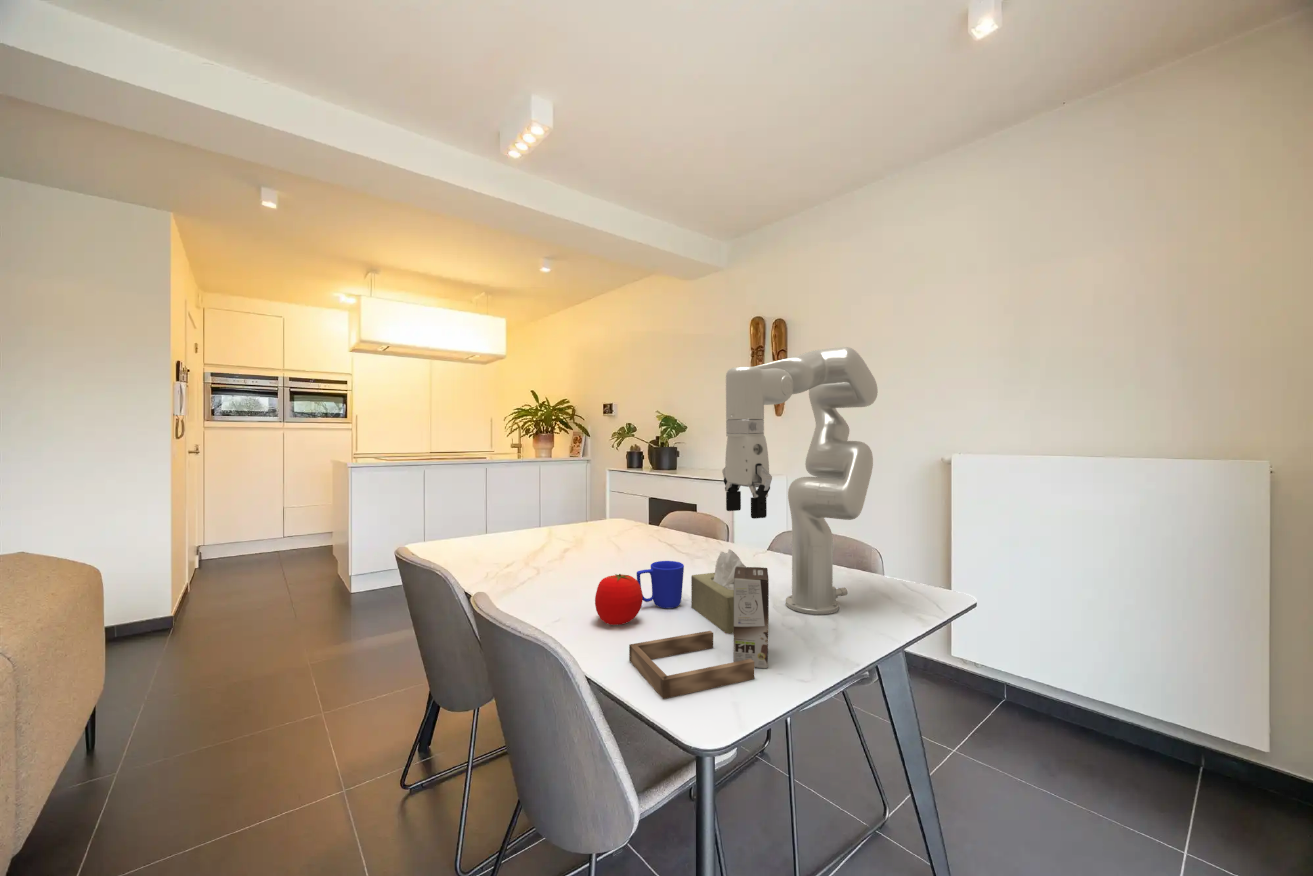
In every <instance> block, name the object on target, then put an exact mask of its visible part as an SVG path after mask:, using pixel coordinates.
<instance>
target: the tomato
mask: <svg viewBox="0 0 1313 876" xmlns="http://www.w3.org/2000/svg"><path fill="white" fill-rule="evenodd" d="M643 596H644V595H643V590H642V586H641V587H640V585H639V583H638V581H637V578H635V577H634V576H631V575H629V574H621V573H619V574H617V573H614V575H608V576H606V577H604V578H602V579H601V580H600V581H599V583H598V585H597V587H596V592H595V596H594V605H595V611H596V613H597V616H598V617H599V618H600V620H601V621H602V622H603V623H605V624H607V625H610V626H621V625H625V624H627V623H629V622H631V621H632V620H634V619H635V618H636V617H637V615H638V614H639V613H640V610H641V608H642V604H643V602H644V601H643Z"/></svg>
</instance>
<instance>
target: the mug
mask: <svg viewBox="0 0 1313 876" xmlns="http://www.w3.org/2000/svg"><path fill="white" fill-rule="evenodd" d="M684 571H685V564H684V563H682V562H679V561H675V560H660V561H659V560H658V561H655V562H652V563H651V564H650V568H649V569H641V570H637V571H636V580H637V581H638V583H639V585H640V587H641V588H642V585H641V583H642V582H641V575H643V574H649V576H650V580H651V596H650V597H649V598H646V597H644V595H643V601H642V602H646V603H647V602H648V603H649V602H651V601H653V603H654V605H655V606H656V607H657V608H662V609H673V608H677V607H678V606H680V605H681V602H682V598H683V582H684V581H683V580H684V573H685V572H684Z"/></svg>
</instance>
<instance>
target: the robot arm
mask: <svg viewBox="0 0 1313 876" xmlns="http://www.w3.org/2000/svg"><path fill="white" fill-rule="evenodd" d="M806 391H808V398H809V402H810V406H811V409H812V412H813V416H814V422H815V428H814V431H813V435H812V439H811V441H810V445H809V448H808V450H807V454H806V456H805V457H806V458H805V463H804V465H805V469H806V471H807V473H809V475H811V476H802V477H798V478H796V479H794V480H793V481H792V482H791V483H790V485H789V487H788V491H787V499H788V504H789V505H788V506H789V510H790V515H791V516H790V517H791V595H789V596H787V597H786V598H785V605H786V607H787V608H789V609H790V610H793V611H795V612H799V613H804V614H810V615H829V614H834V613H836V612H838V611H839V610H840V602H838V601H837V599H838V597H844V596H847V595H848V589H847V587H838V588H836V587H835V586H834V585H833V584H834V583H833V582H834V581H833V577H834V576H833V575H834V573H833V572H834V571H833V569H834V567H833V566H834V563H833V562H834V560H833V559H834V558H833V557H834V556H833V553H834V552H833V548H834V547H833V544H834V537H833V533H832V530H831V528H830V526H829V524H828V523H827V521H826V518H827V519H835V520H843V521H844V520H845V521H851V520H855V519H857V518H858V517H859V516H860V514H862V510H863V508H864V504H865V501H866V496H867V492H868V489H869V486H870V482H871V481H870V480H871V477H872V472H873V468H874V467H873V466H874V457H873V451H872V449H871V447H870V446H869V445H868V444H867V443H865V442H862V441H859V440H848V439H849V435H850V426H849V425H848V423H847V421H846V420H845V418H844V417H843V416H842V415H841V414H840V413H839V412H838V410H837V409H842V408H843V409H847V408H848V409H851V408H852V409H853V408H866V407H869V406H871V405H873V404H874V402H875V401H876V400H877V397H878V383H877V381H876V379H875V376H874V375H873V373H872V371H871V369H870V368H869V367H868V366H867V363H866V362H865V361H864V359H863V358H862V356H861V355H860V353H858V352H857V351H856V350H855V349H854V348H852V347H849V346H842V347H834V348H825V349H815V350H811V351H808V352H805V353H802V354H798V355H795V356H791V357H788V358H783V359H779V360H776V361H771V362H768V363H767V362H766V363H764V364H759V365H756V366H736V367H732V368H729V369H728V370H727V371H726V374H725V431H726V432H725V435H726V439H727V440H726V448H725V462H724V463H725V467H724V468H722V470H721V472H722V477H723V483H724V485H725V487H724V491H725V495H726V496H725V505H726V506H725V510H726V511H727V512H735V511H741V509H742V504H741V503H742V496H741V493H742V491H741V490H740V489H741V486H742V487H748V488H749V490H750V493H751V496H752V497H750V517H751V518H752V519H753V520H754V519H756V520H757V519H765V518H767V514H768V513H767V511H768V510H767V498H768V497H769V492H770V490H771V484H772V480H773V476H772V474H770V465H769V464H770V463H769V451H768V444H767V440H766V436H765V406H770V405H771V406H772V405H779V404H783V403H785V402H787V401H788V400H789V399H790V398H791V397H792V396H793V395H797V394H802V393H804V392H806Z"/></svg>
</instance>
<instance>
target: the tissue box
mask: <svg viewBox="0 0 1313 876" xmlns="http://www.w3.org/2000/svg"><path fill="white" fill-rule="evenodd" d="M736 567H747V566H746V565H745V564H744V563H743V562H742V561H741V558H740V557H739V556H738V554H736V553H735V551H733V550H732V549H731V548H729V549H728V550H727V552H724V551H720V553H719V555H718V557H717V560H716V563H715V568H714V570H715V571H714V572H708V573H699V574H692V575H691V581H690V582H691V592H690V593H691V595H690V596H691V601H690V602H691V604H690V605H691V609H693V610H694V611H695V612H697V614H700V615H701V616H702V617H703V618H705V619H706V620H707V621H709V622H710V623H711V624H713V625H714V626H715V627H717V628H718V629H719V630H720V631H722V632H723V633H725V634H726V635H729V634H734V573H735V568H736Z"/></svg>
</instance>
